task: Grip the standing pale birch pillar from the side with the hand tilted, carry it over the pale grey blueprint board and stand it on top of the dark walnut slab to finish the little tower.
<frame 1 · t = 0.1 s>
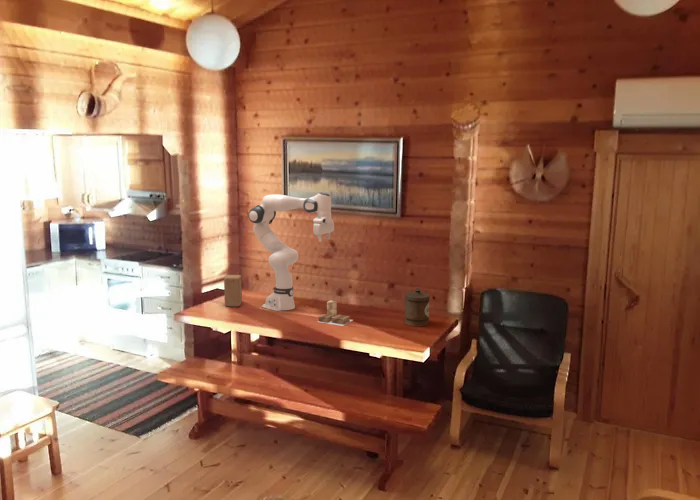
hand: (324, 240, 375), 48 cm above the table, tool pointing down, fingers open, 8 cm apart
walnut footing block: (325, 320, 365), point 1 cm above the table, touching blueprint board
birch pillar: (331, 316, 377), on the table
walnut slab: (340, 321, 363), point 1 cm above the table, touching blueprint board
blueprint board: (335, 322, 365), on the table
wooden block: (233, 305, 404), on the table
wooden container: (416, 323, 366), on the table
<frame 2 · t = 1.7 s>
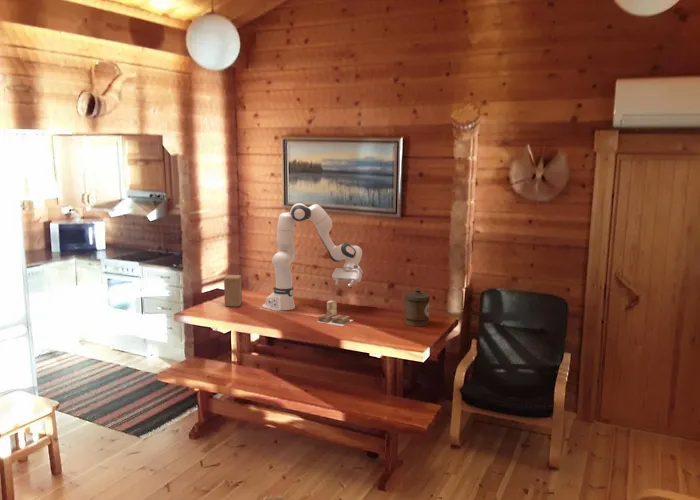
hand: (342, 285, 386), 17 cm above the table, tool tilted 45°, fingers open, 8 cm apart
nothing on the table moved.
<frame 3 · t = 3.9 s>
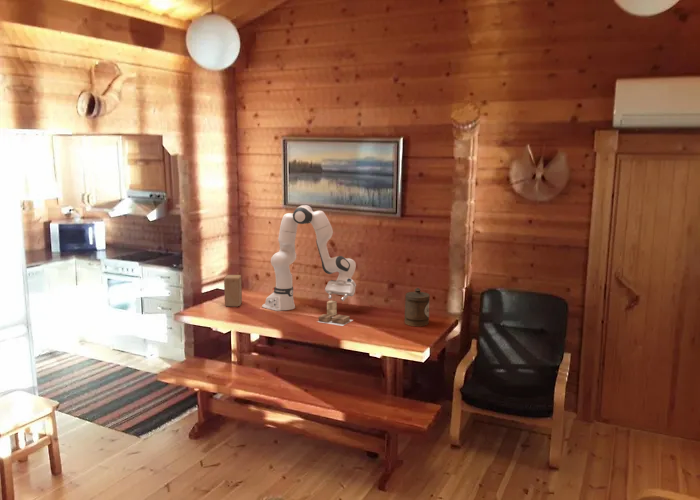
hand: (336, 299, 380), 10 cm above the table, tool tilted 45°, fingers open, 8 cm apart
nothing on the table moved.
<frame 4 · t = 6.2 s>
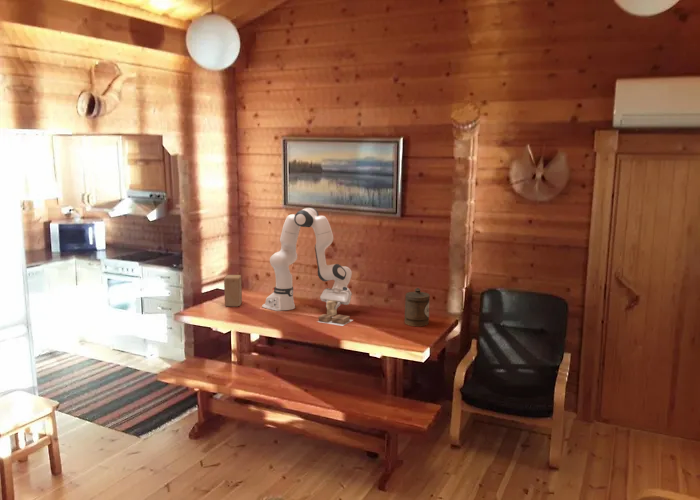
hand: (331, 308, 376), 6 cm above the table, tool tilted 45°, fingers closed on birch pillar, 4 cm apart
birch pillar: (331, 316, 377), on the table, touching gripper
everything else where it was.
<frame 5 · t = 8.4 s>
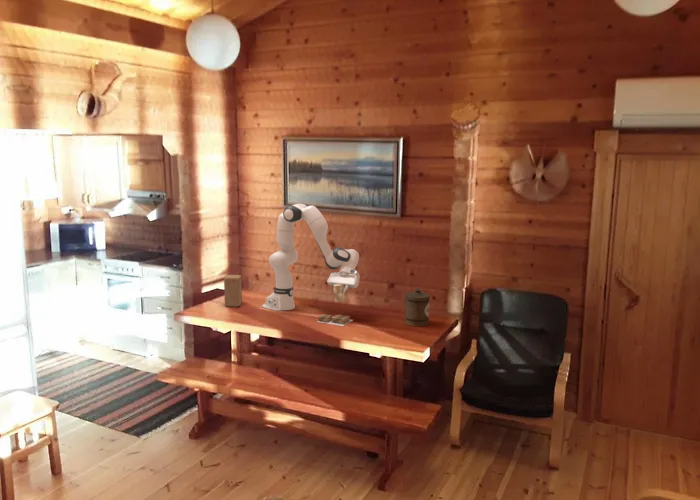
hand: (339, 291, 363), 19 cm above the table, tool tilted 45°, fingers closed on birch pillar, 4 cm apart
birch pillar: (339, 300, 365), point 13 cm above the table, touching gripper
everything else where it was.
when the fingers open (11 cm above the table, at t = 10.8 s): birch pillar stays where it is, resting on walnut slab.
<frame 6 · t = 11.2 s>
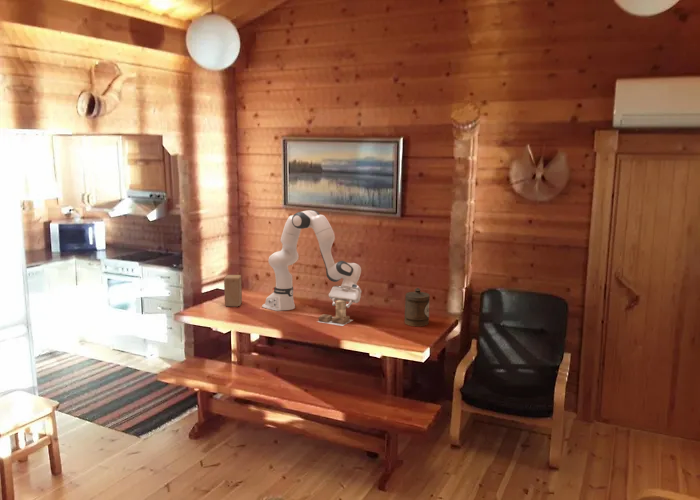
hand: (340, 306, 361), 11 cm above the table, tool tilted 45°, fingers open, 8 cm apart
birch pillar: (340, 316, 363), point 4 cm above the table, touching walnut slab
walnut slab: (340, 321, 363), point 1 cm above the table, touching birch pillar, blueprint board
everything else where it was.
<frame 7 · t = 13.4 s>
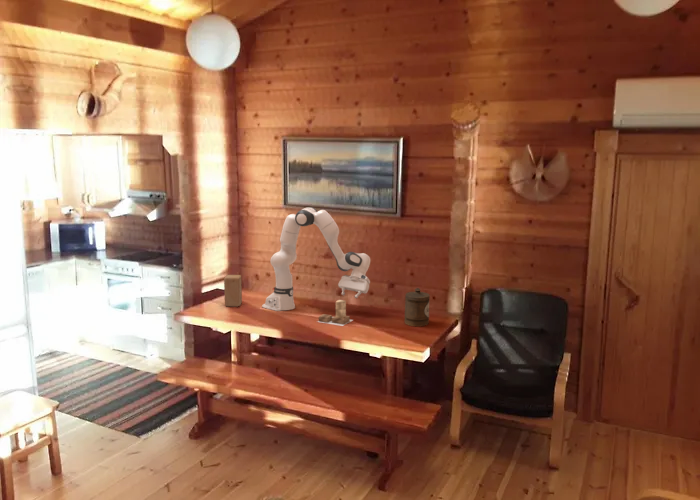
hand: (349, 296, 373), 14 cm above the table, tool tilted 40°, fingers open, 8 cm apart
nothing on the table moved.
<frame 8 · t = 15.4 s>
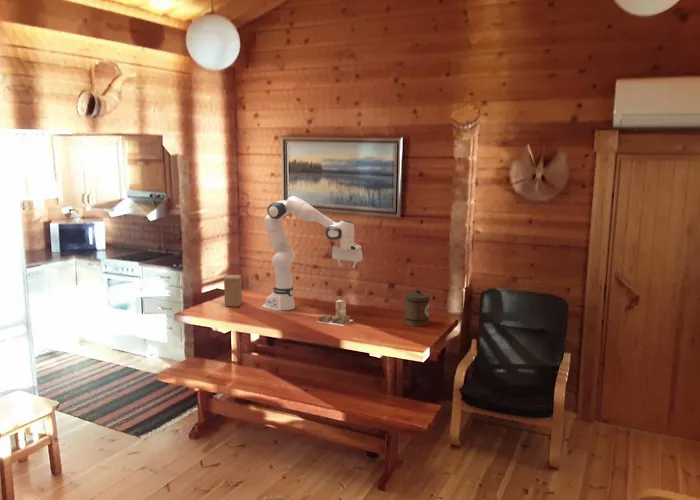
hand: (347, 267, 377), 31 cm above the table, tool pointing down, fingers open, 8 cm apart
nothing on the table moved.
at the end: birch pillar 0.1 cm off-centre on the walnut slab, point 3.0 cm above the walnut slab's base; birch pillar tilted 0°; the gripper is holding nothing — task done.
